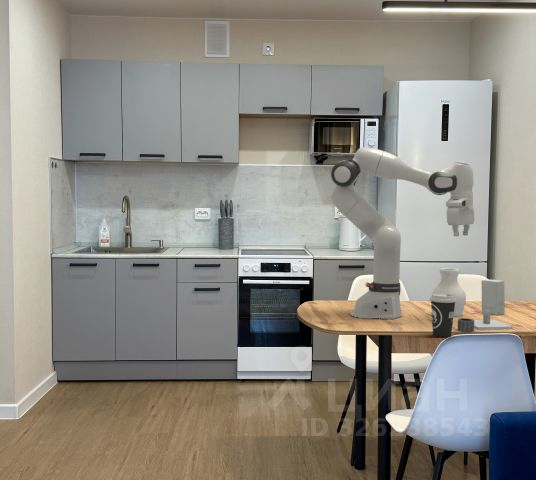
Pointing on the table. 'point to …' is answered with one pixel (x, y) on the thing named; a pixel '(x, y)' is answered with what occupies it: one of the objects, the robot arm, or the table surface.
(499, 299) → the skincare box
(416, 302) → the table surface
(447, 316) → the coffee cup
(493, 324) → the post
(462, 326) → the ring
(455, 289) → the vase
